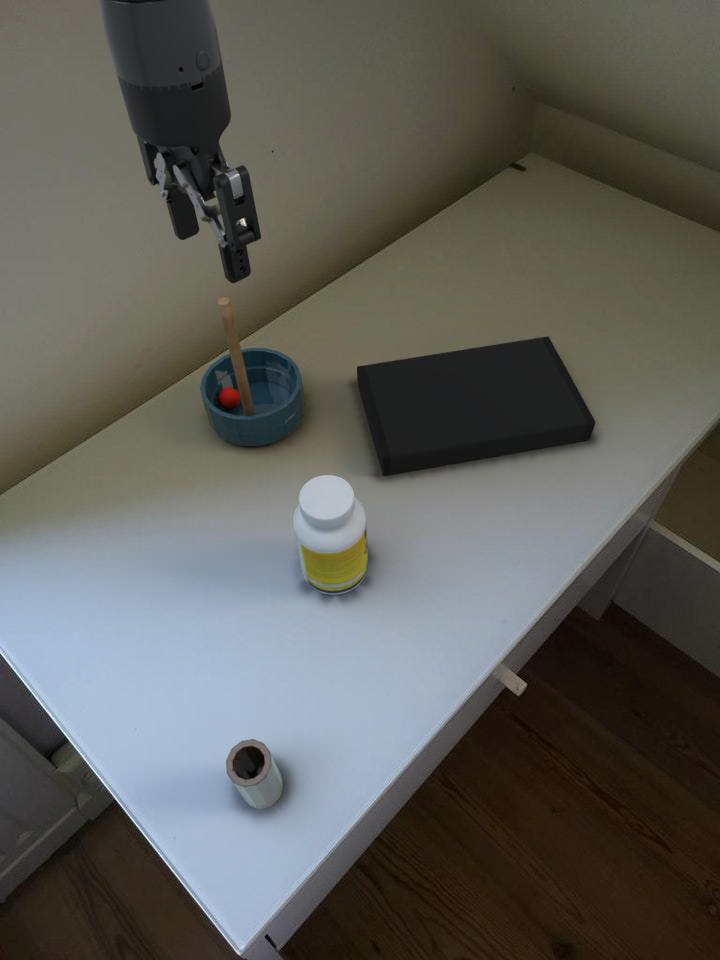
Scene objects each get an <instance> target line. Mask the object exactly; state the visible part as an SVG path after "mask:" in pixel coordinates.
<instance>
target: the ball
mask: <svg viewBox="0 0 720 960" xmlns="http://www.w3.org/2000/svg"><path fill="white" fill-rule="evenodd" d="M219 402H220V404H221V405H222V406H223V407H224V408H227V409H233V408H235V407H236V406H238V404H239V402H240V395H239V393H238V392H237V391H236V390H235V389H233V388H225V389H223V390H222V391H221V392H220V394H219Z"/></svg>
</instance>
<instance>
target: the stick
mask: <svg viewBox="0 0 720 960" xmlns="http://www.w3.org/2000/svg"><path fill="white" fill-rule="evenodd" d="M217 305H218V309H219V310H218V311H219V314H220V318H221V322H222V326H223V330H224V335H225V339H226V343H227V347H228V351H229V354H230V356H231V360H232V364H233V368H234V373H235V377H236V381H237V385H238V389H239V393H240V398H241V402H242V406H243V410H244V414H245V416H253V415H255V410H254V406H253V401H252V397H251V392H250V388H249V383H248V379H247V374H246V369H245V365H244V360H243V356H242V351H241V350H242V348H241V343H240V338H239V334H238V330H237V325H236V321H235V315H234V311H233V306H232V303H231V299H230V298H229V297H228V296H221V297H220V298H218V299H217Z"/></svg>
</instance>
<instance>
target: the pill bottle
mask: <svg viewBox="0 0 720 960" xmlns="http://www.w3.org/2000/svg"><path fill="white" fill-rule="evenodd" d="M292 530H293V535H294V539H295V544H296V549H297V553H298V558H299V565H300V568H301V573H302V576H303V578H304V580H305V581H306V583H307V585H309V586H310V587H311V588H312V589H314V591H316V592H319V593H321V594H325V595H335V596H336V595H342V594H347V593H348V592H350V591H353V590H354V589H355V588H357V587H358V586H359V585H360V584H361V583H362V582H363V581H364V579H365V577H366V575H367V572H368V568H369V554H368V552H369V550H368V533H367V531H368V530H367V515H366V511H365V509H364V507H363V504H362V503H361V502H360V501H359V499H358V498H356V497H355V493H354V489H353V487H352V485H351V484H350V483H349V482H348V481H347V480H345V479H344V478H342V477H339V476H336V475H334V474H333V475H331V474H323V475H318V476H316V477H313V478H311V479H309V480H308V481H306V482H305V483H304V484H303V486H302V487H301V489H300V491H299V495H298V504H297V506H296V508H295V510H294V513H293V516H292Z"/></svg>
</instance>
